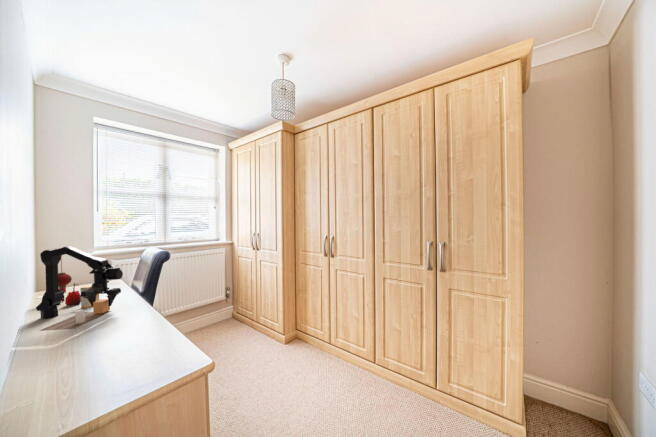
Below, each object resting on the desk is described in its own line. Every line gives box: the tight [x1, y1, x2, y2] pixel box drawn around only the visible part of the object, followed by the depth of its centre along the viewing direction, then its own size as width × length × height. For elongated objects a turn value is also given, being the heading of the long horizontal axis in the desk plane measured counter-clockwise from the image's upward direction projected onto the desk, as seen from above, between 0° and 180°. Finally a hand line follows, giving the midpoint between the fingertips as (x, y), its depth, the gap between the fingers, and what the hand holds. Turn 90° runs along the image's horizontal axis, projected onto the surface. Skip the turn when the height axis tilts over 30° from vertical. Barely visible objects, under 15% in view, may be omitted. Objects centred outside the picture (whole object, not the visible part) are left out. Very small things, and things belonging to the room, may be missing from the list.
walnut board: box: [39, 310, 112, 332], centre depth 141 cm, size 17×24×1 cm
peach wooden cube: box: [92, 298, 111, 314], centre depth 151 cm, size 5×5×7 cm
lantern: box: [58, 260, 73, 303], centre depth 177 cm, size 10×10×30 cm
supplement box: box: [80, 284, 100, 309], centre depth 167 cm, size 8×5×13 cm, turn 179°
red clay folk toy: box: [64, 282, 81, 307], centre depth 170 cm, size 8×7×15 cm
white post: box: [75, 308, 86, 324], centre depth 137 cm, size 3×3×8 cm
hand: (101, 306), depth 151 cm, fingers open, 9 cm apart
